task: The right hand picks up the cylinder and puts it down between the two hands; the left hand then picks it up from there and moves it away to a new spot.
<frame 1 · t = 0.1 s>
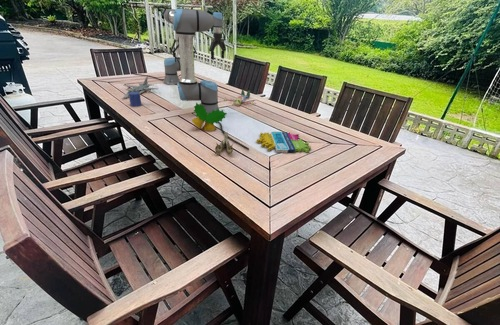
left hand: (217, 59, 236), 28 cm above the table, tool pointing down, fingers open, 13 cm apart
right hand: (184, 61, 211), 28 cm above the table, tool pointing down, fingers open, 13 cm apart
packaged colorful gloves: (281, 143, 152), on the table
toy: (241, 101, 221), on the table
airplane: (139, 92, 225), on the table
jawbone: (224, 151, 138), on the table
cylinder: (136, 105, 196), on the table
ornament: (209, 128, 165), on the table
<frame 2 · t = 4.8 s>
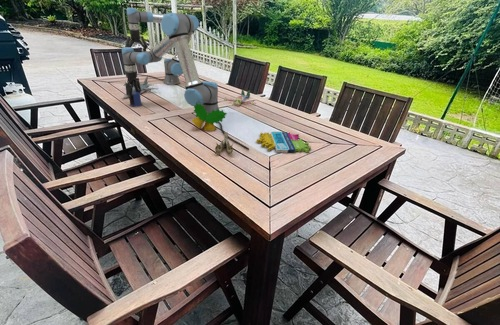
left hand: (138, 57, 224), 27 cm above the table, tool pointing down, fingers open, 13 cm apart
right hand: (135, 102, 195), 2 cm above the table, tool pointing down, fingers closed on cylinder, 8 cm apart
cylinder: (136, 105, 196), on the table, touching right hand
everything else where it was.
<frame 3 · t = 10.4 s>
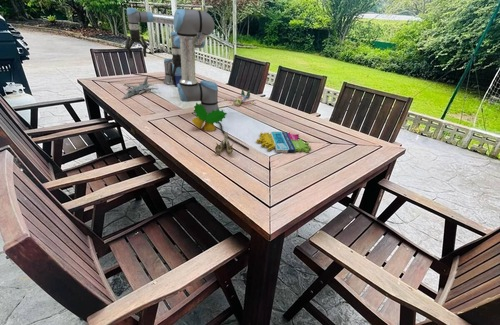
left hand: (138, 57, 224), 27 cm above the table, tool pointing down, fingers open, 13 cm apart
right hand: (179, 84, 211), 12 cm above the table, tool pointing down, fingers closed on cylinder, 8 cm apart
cylinder: (179, 86, 212), point 10 cm above the table, touching right hand
everything else where it was.
when the right hand's fingers open (3 cm above the table, at t = 15.9 s): cylinder drops 1 cm, on the table.
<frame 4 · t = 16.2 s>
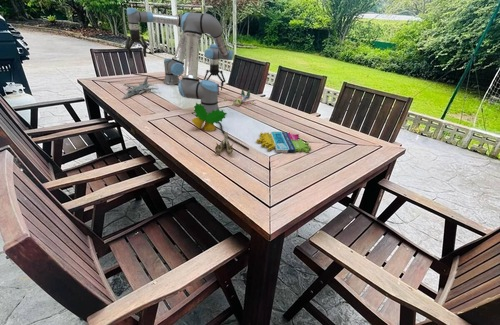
left hand: (138, 57, 224), 27 cm above the table, tool pointing down, fingers open, 13 cm apart
right hand: (214, 89, 234), 4 cm above the table, tool pointing down, fingers open, 12 cm apart
cylinder: (214, 94, 236), on the table
everything else where it was.
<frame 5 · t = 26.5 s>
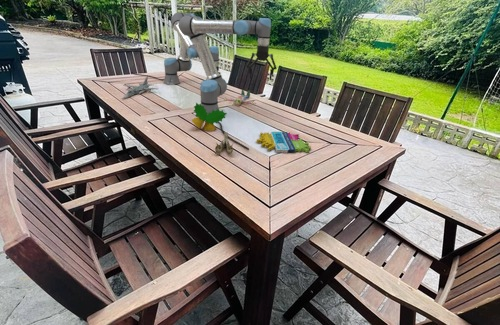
left hand: (214, 92, 235), 2 cm above the table, tool pointing down, fingers closed on cylinder, 8 cm apart
right hand: (260, 79, 178), 26 cm above the table, tool pointing down, fingers open, 13 cm apart
cylinder: (214, 94, 236), on the table, touching left hand
everything else where it was.
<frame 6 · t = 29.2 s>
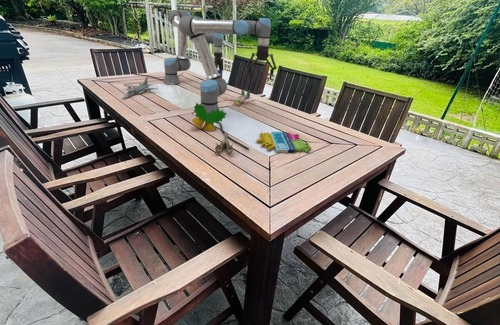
left hand: (217, 78, 239), 12 cm above the table, tool pointing down, fingers closed on cylinder, 8 cm apart
right hand: (260, 79, 178), 26 cm above the table, tool pointing down, fingers open, 13 cm apart
cylinder: (217, 80, 239), point 10 cm above the table, touching left hand
everything else where it was.
when the left hand's fingers open (3 cm above the table, at t = 32.2 s): cylinder drops 1 cm, on the table.
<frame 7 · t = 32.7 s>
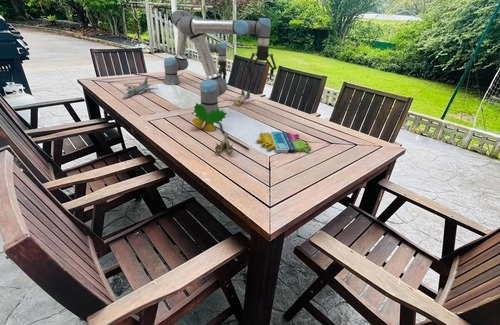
left hand: (221, 83, 252), 5 cm above the table, tool pointing down, fingers open, 13 cm apart
right hand: (260, 79, 178), 26 cm above the table, tool pointing down, fingers open, 13 cm apart
cylinder: (222, 89, 254), on the table
everything else where it was.
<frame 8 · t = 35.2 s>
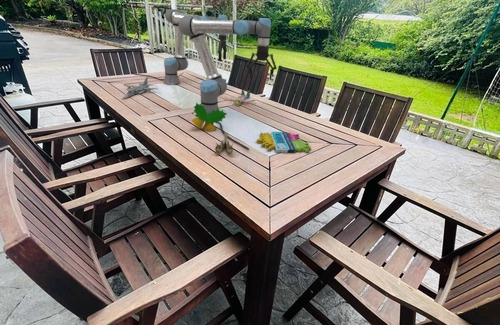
left hand: (222, 60, 241), 26 cm above the table, tool pointing down, fingers open, 13 cm apart
right hand: (260, 79, 178), 26 cm above the table, tool pointing down, fingers open, 13 cm apart
nothing on the table moved.
at the end: cylinder inside the target area (0.0 cm from its centre), on the table; cylinder tilted 0°; the two hands never held the cylinder at the same time; the left hand is holding nothing; the right hand is holding nothing; cylinder at rest at the end (0.0 cm/s) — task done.
